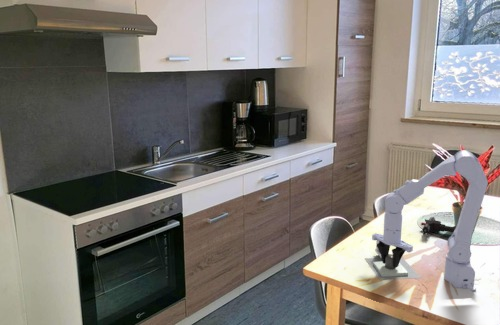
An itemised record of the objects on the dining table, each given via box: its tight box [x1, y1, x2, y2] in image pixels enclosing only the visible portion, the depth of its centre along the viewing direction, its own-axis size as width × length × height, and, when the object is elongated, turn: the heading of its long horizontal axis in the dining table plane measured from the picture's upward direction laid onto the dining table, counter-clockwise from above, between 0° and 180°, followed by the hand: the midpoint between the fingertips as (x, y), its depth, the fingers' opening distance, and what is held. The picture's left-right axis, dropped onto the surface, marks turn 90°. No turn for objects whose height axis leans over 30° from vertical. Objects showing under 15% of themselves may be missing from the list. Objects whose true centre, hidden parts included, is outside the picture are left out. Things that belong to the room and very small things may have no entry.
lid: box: [373, 253, 408, 277], centre depth 152 cm, size 9×9×5 cm
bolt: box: [374, 240, 382, 258], centre depth 161 cm, size 6×2×4 cm, turn 4°
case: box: [364, 254, 422, 281], centre depth 154 cm, size 16×14×2 cm
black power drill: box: [420, 216, 457, 235], centre depth 187 cm, size 5×20×15 cm
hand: (390, 264), depth 152 cm, fingers closed on lid, 4 cm apart
